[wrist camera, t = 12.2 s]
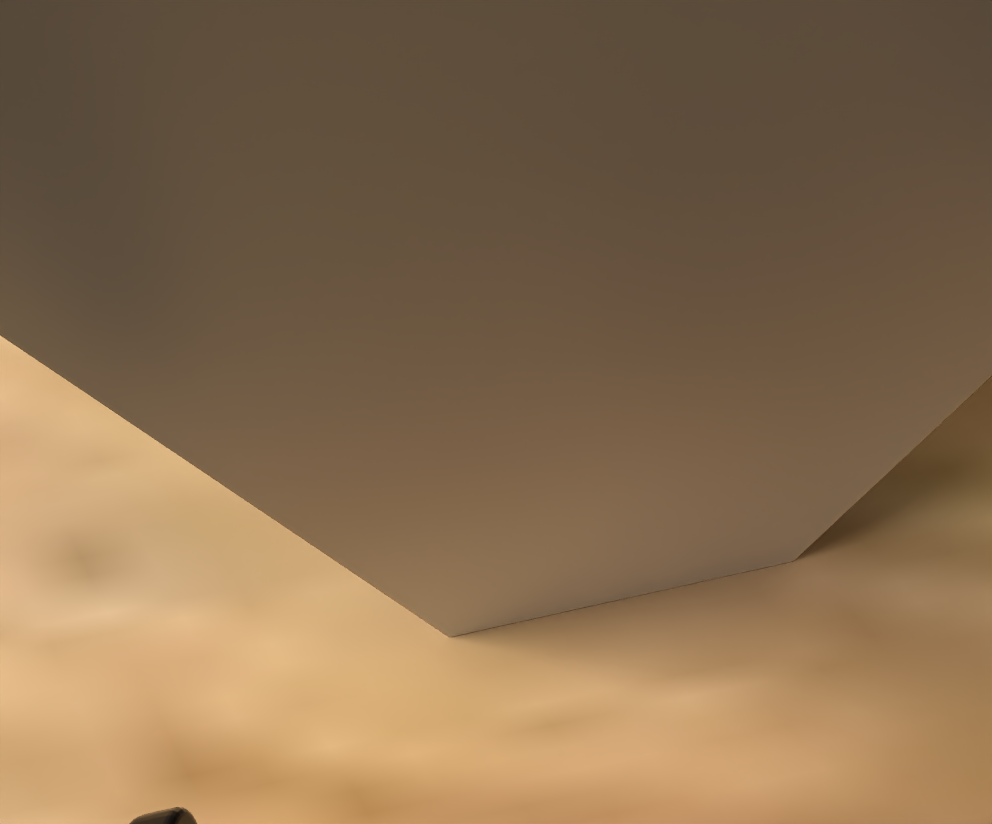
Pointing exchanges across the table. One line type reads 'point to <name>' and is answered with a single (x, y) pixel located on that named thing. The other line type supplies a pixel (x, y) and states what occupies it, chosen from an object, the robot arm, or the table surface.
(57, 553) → the table surface
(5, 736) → the table surface
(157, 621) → the table surface
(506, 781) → the table surface
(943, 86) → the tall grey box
